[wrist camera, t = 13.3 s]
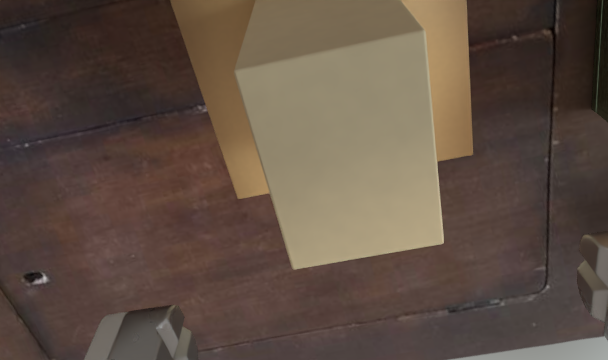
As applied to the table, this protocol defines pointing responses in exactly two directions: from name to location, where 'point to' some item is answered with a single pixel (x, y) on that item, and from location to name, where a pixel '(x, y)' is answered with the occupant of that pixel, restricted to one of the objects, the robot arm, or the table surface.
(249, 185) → the stand
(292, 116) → the carton
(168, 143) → the table surface
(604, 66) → the bin
